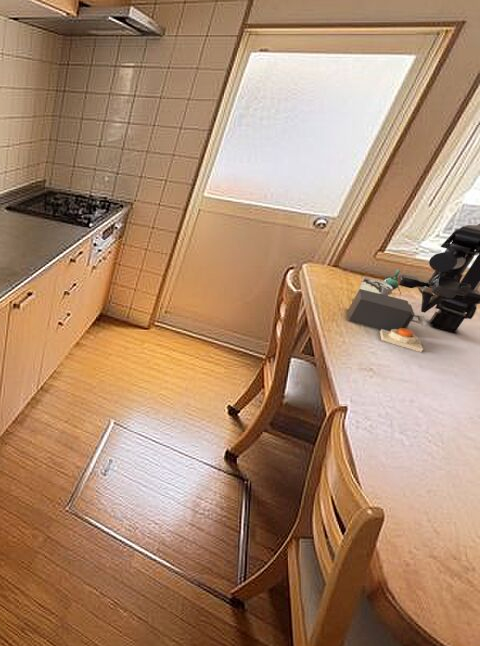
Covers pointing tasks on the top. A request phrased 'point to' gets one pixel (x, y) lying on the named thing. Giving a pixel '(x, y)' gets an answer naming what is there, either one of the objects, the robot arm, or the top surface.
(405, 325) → the fryer drawer
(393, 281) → the frog figurine
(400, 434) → the top surface
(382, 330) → the block
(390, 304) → the charcoal rectangular box
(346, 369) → the top surface
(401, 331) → the button
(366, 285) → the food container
